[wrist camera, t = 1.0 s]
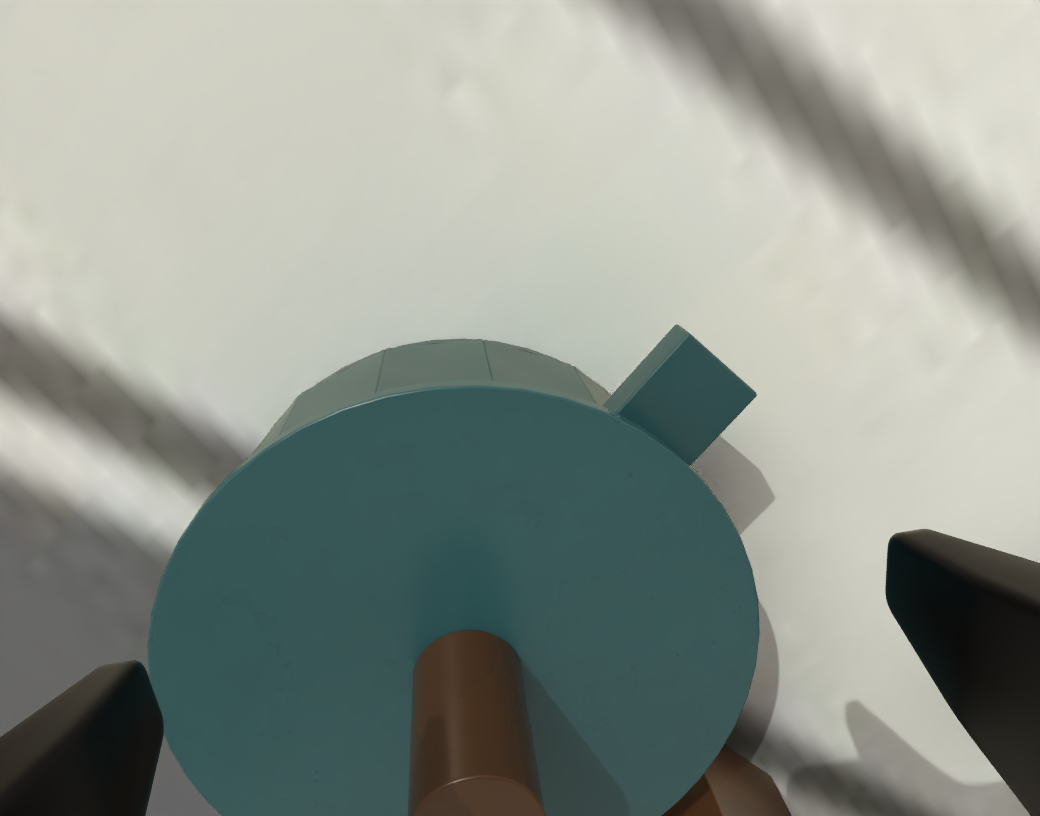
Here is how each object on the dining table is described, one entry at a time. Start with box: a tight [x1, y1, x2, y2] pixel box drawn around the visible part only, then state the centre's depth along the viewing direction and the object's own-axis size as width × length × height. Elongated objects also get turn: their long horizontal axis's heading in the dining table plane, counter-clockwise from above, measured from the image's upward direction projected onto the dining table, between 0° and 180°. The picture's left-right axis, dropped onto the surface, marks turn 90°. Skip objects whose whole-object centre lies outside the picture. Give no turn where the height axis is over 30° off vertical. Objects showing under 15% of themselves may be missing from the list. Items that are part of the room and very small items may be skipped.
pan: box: [252, 325, 757, 465], centre depth 21 cm, size 14×19×5 cm
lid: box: [148, 380, 759, 816], centre depth 17 cm, size 15×15×6 cm
